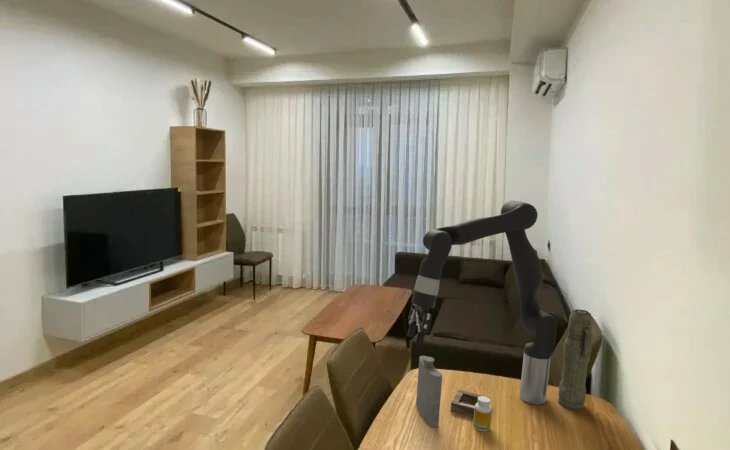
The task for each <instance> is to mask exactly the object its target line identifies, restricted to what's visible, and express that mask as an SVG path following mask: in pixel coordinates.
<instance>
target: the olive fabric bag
mask: <svg viewBox="0 0 730 450" xmlns="http://www.w3.org/2000/svg"><path fill="white" fill-rule="evenodd" d="M592 329H593V318H592V313H591V312H590V311H587V310H584V309H574V310H572V311H571V313H570V314H569V318H568V326H567V334H566V335H567V336H566V338H565V340H564V343H563V344H564V346H563V352H562V353H563V354H562V357H563V365H562V372H561V373H562V374H561V381H560V382H559V386H558V399H557V403H558V404H559V405H560V406H561V407H562V408H565V409H567V410H571V411H582V410H584V407H585V402H586V397H587V396H586V395H587V387H586V381H587V375H588V367H589V366H588V365H589V363H590V362H591V354H592V344H591V341H592Z"/></svg>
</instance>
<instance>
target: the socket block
mask: <svg viewBox="0 0 730 450" xmlns="http://www.w3.org/2000/svg"><path fill="white" fill-rule="evenodd" d="M479 396H483V394H479V393H478V394H477V393H474V392H470V391H465V390H462V389H458V390H457V392H456V394H455V395H454V397H453V399H452V400H451V403H450V412H452V413H457V414H459V415H460V414H461V415H463V416H467V417H470V418H474V410H475V404H476V403H478V402H477V400H478V397H479ZM484 396H485V395H484ZM485 397H488V398H489V399H490V396H485ZM463 402H464V403H463ZM468 403H469V404H468ZM471 404H472V405H471Z"/></svg>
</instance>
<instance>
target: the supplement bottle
mask: <svg viewBox="0 0 730 450" xmlns="http://www.w3.org/2000/svg"><path fill="white" fill-rule="evenodd" d="M488 397H489V396H486V397H485V395H482V396H479V397H478V400H477V402H478V403H476V404H474V406H475V410H474V417H473V422H472V423H473V425H472V426H473V427H474V429H476V430H477V431H479V432H488V431H489V430H490V429H491V422H492V413H493V410H492V409H493V408H492V406H491V399H490V397H489V398H488Z"/></svg>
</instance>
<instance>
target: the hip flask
mask: <svg viewBox="0 0 730 450" xmlns="http://www.w3.org/2000/svg"><path fill="white" fill-rule="evenodd" d="M434 363H435V358H434V357H432V356H427V355H420V356H419V358H418V368H417V369H418V370H417V372H418V373H417V383H416V384H417V385H416V386H417V387H416V398H415V399H416V401H415V406H416V408H417V411H418V413H419V416H420V417H421V418H422V420H423V421H424V422H425V423H426V424H427V425H428V426H429V427H430V428H431V429H437V428H438V427H439V425H440V424H439V423H440V410H441V397H442V396H441V395H442V385H443V373H441V372H440V371H439V370H437V368H436V367H435V366H434Z"/></svg>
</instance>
